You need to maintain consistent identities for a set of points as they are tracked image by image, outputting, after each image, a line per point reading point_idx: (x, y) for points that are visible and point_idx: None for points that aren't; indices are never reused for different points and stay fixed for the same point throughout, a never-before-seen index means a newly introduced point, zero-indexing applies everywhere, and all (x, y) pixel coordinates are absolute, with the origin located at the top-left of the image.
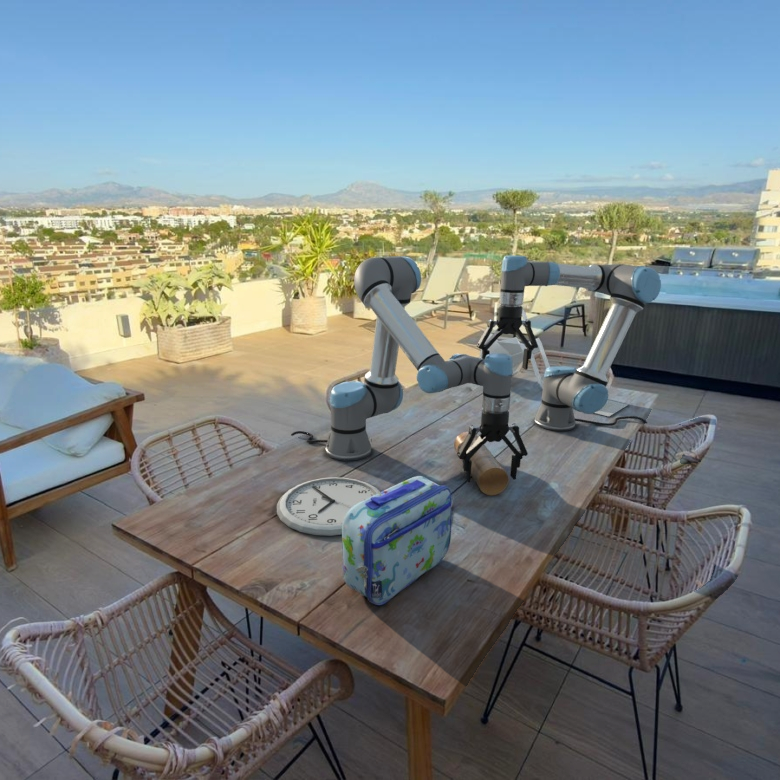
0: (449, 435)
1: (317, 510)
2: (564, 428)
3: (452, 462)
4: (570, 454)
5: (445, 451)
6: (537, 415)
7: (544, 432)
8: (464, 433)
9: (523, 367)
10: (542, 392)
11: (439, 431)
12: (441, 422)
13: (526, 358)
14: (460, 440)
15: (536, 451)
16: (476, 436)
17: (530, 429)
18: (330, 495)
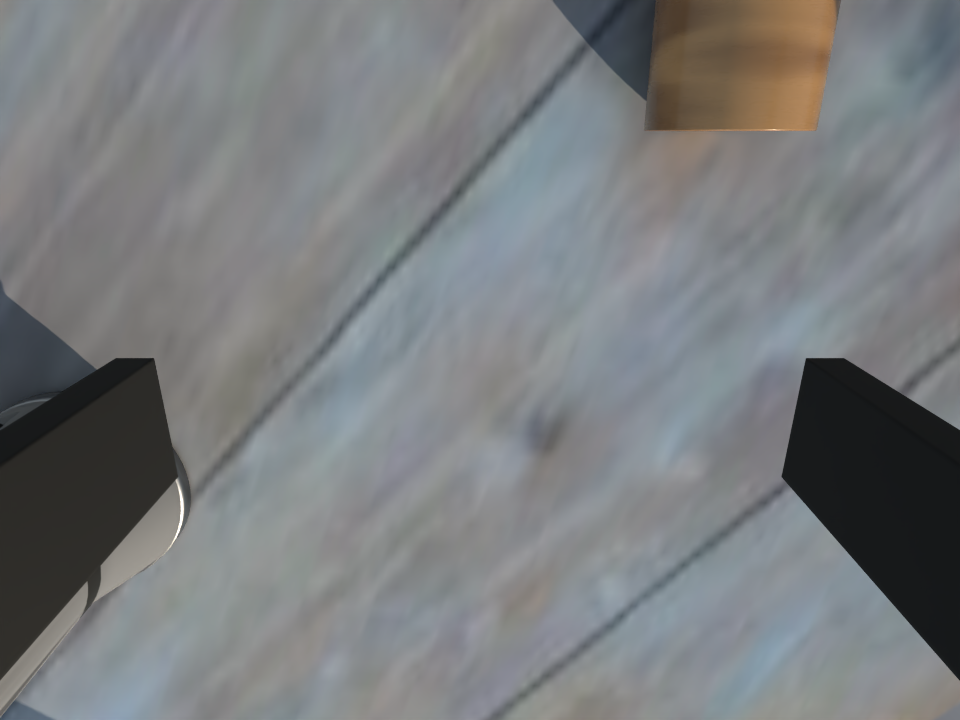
0: (681, 398)
1: None
2: (49, 397)
3: None
4: (103, 80)
5: (784, 199)
6: (161, 519)
7: (171, 388)
8: (790, 106)
9: (162, 441)
10: (60, 630)
11: (711, 450)
12: (658, 551)
13: (12, 453)
14: (828, 49)
15: (288, 144)
16: (721, 57)
17: (235, 432)
18: None
